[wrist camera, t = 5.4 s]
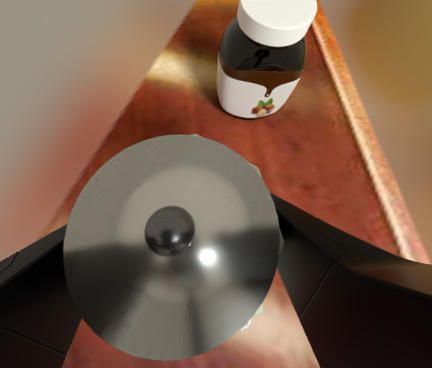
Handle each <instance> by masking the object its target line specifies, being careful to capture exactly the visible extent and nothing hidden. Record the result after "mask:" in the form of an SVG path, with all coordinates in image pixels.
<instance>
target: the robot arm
mask: <svg viewBox="0 0 432 368" xmlns="http://www.w3.org/2000/svg"><path fill="white" fill-rule="evenodd" d="M269 193H270V192H269ZM270 195H271V197H272V200H273V202H274V205H275V209H276V212H277V216H278V223H279V228H280V231H281V234H282V237H283V240H284V242H283V243H284V245H283V247H282V249H281V252H280V254H279V258H278V263H277V267H276V268H277V270H278V272H279V275H280V277H281V279H282V281H283V284H284V286H285V288H286V290H287V293H288V295H289V297H290V300H291V302H292V304H293V306H294V309H295V311H296V313H297V315H298V317H299V320H300V322H301V325H302V327H303V329H304V332H305V334H306V336H307V338H308V341H309V343H310V345H311V347H312V350H313V352H314V354H315V356H316V359H317V361H318V363H319V366H320V368H432V265H430V264H424V263H419V262H414V261H411V260H407V259H404V258H402V257H399V256H396V255H394V254H392V253H389V252H387V251H385V250H383V249H381V248H378V247H376V246H374V245H372V244H370V243H368V242H365V241H363V240H361V239H359V238H357V237H355V236H352V235H350V234H348V233H346V232H344V231H342V230H340V229H338V228H336V227H334V226H332V225H330V224H328V223H326V222H324V221H322V220H320V219H318V218H317V217H316V218H315V216H313V215H311V214H309V213H307V212H305V211H303V210H302V209H300V208H298V207H296V206H294V205H292V204H290V203H288V202H287V201H285V200H283V199H281V198H279V197H277V196H275V195H273V194H272V193H270ZM66 228H67V224H66V225H65V226H63V227H61V228H59V229H57V230H56V231H54V232H52V233H50V234H49V235H47V236H45V237H43V238H41V239H40V240H38V241H36V242H34V243H33V244H31V245H29V246H27V247H26V248H24V249H22V250H20V252H16V253H15V254H13V255H11V256H9V257H8V258H6V259H4V260H2V261H1V262H0V368H61V367H62V365H63V363H64V360H65V358H66V355H67V353H68V350H69V348H70V346H71V343H72V341H73V338H74V336H75V334H76V331H77V329H78V327H79V324H80V322H81V319H82V317H81V315H80V313H79V312H78V310H77V308H76V307H75V305H74V302H73V300H72V297H71V295H70V293H69V290H68V286H67V282H66V278H65V271H64V262H63V252H64V239H65V233H66Z"/></svg>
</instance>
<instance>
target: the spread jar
mask: <svg viewBox="0 0 432 368" xmlns="http://www.w3.org/2000/svg"><path fill="white" fill-rule="evenodd" d="M316 11H317V3H316V0H239V6H238V15H237V16H236V17H235V18H234V19H233V20H232V21H231V22H230V23H229V24H228V26H227V28H226V29H225V31H224V33H223V36H222V39H221V42H220V47H219V53H218V65H217V93H218V98H219V101H220V104H221V106H222V108H223V109H224V110H225V111H226V112H227V113H228V114H230V115H231V116H233V117H236V118H238V119H242V120H257V119H261V118H264V117H266V116H269V115H271V114H272V113H274V112H276V111H277V110H278V109H279V108H280V107H281V106H282V105H283V104H284V103H285V102H286V100H287V99H288V97H289V96H290V94H291V93H292V91H293V89H294V88H295V86H296V85H297V83H298V81H299V79H300V77H301V75H302V73H303V71H304V68H305V64H306V55H307V44H306V36H305V34H306V32H307V30H308V28H309V26H310V24H311V22H312V20H313V18H314V16H315V14H316Z"/></svg>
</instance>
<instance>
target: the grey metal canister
mask: <svg viewBox="0 0 432 368" xmlns="http://www.w3.org/2000/svg"><path fill="white" fill-rule="evenodd" d="M283 242H284V240H283V237H282V234H281V231H280V228H279V223H278V216H277V212H276V209H275V205H274V202H273V200H272V197H271V195H270V193H269V190H268V188H267V187H266V185H265V183H264V181H263V180H262V177H261V174H260V171H259V168H258V167H256V166H254V165H252V164H251V163H249V162H247V161H246V160H245V159H244V158H243V157H241V156H240V155H239V154H238V153H236V152H235V151H233V150H232V149H230V148H228V147H227V146H225V145H222V144H220V143H218V142H216V141H213V140H210V139H207V138H203V137H201V136H199V135H197V134H192V135H166V136H159V137H155V138H151V139H147V140H144V141H142V142H139V143H137V144H134V145H132V146H130V147H128V148H126V149H125V150H123V151H121V152H120V153H118V154H117V155H115V156H114V157H112V158H111V159H110V160H109V161H107V162H106V163H105V164H104V165H103V166H102V167H101V168H100V169H99V170H98V171H97V172H96V173H95V174H94V175H93V176H92V177H91V179H90V180H89V181H88V183H87V184H86V186H85V187H84V188H83V190H82V192H81V193H80V195H79V197H78V199H77V200H76V202H75V205H74V207H73V210H72V212H71V214H70V217H69V221H68V224H67V228H66V233H65V239H64V252H63V262H64V271H65V278H66V282H67V286H68V290H69V293H70V295H71V297H72V300H73V302H74V305H75V307H76V308H77V310H78V312H79V313H80V315H81V317H82V318H83V320H84V321H85V322H86V323H87V324H88V326H89V327H90V328H91V329H92V330H93V332H95V333H96V334H97V335H98V336H99V337H100V338H102V339H103V340H104V341H105V342H107V343H108V344H110V345H112V346H113V347H115V348H116V349H118V350H120V351H122V352H125V353H127V354H130V355H133V356H135V357H140V358H145V359H149V360H153V361H154V360H155V361H157V360H165V361H169V360H178V359H185V358H189V357H192V356H196V355H200V354H202V353H204V352H207V351H209V350H211V349H213V348H216V347H217V346H219V345H220V344H222V343H224V342H225V341H227V340H228V339H230V338H231V337H232V336H233V335H235V334H236V333H237V332H238V331H241V330H244V329H247V327H248V326H249V324H250V321H251V319H252V317H253V315H254V314H255V313H256V311H257V310H258V308H259V307H260V305H261V304H262V302H263V301H264V299H265V297H266V295H267V293H268V291H269V289H270V286H271V284H272V281H273V278H274V275H275V272H276V267H277V263H278V258H279V254H280V252H281V249H282V247H283V245H284V243H283Z"/></svg>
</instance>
